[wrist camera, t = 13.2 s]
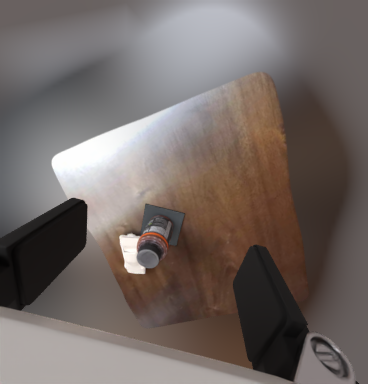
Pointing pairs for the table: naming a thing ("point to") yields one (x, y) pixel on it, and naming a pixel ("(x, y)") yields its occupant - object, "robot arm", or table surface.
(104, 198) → the table surface
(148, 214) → the mat
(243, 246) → the table surface
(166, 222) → the supplement bottle
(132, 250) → the toy car
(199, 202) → the table surface
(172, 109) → the table surface
